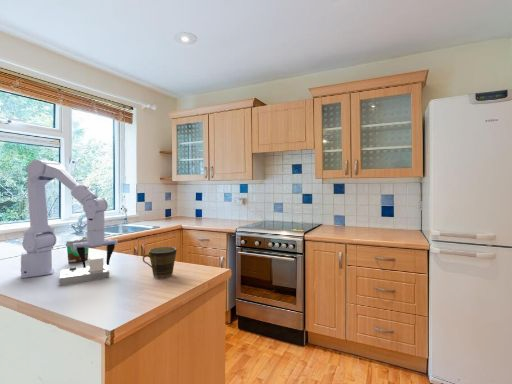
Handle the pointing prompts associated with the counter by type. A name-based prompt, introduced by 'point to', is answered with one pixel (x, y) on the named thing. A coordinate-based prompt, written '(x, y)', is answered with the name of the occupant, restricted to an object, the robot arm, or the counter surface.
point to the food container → (75, 251)
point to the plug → (96, 263)
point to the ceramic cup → (162, 261)
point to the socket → (82, 275)
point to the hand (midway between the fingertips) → (96, 265)
